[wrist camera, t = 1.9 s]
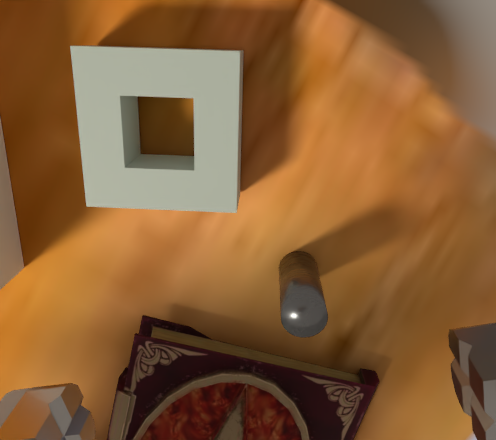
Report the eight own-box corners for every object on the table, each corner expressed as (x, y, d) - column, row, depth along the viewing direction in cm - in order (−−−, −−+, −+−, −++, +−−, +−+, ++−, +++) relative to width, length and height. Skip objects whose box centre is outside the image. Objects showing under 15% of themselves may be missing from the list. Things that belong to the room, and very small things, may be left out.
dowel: (315, 286, 37) (325, 338, 30) (278, 284, 37) (279, 336, 31) (318, 252, 36) (329, 298, 29) (279, 250, 36) (282, 296, 29)
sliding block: (240, 194, 34) (236, 212, 31) (106, 189, 35) (86, 206, 31) (243, 50, 31) (239, 51, 27) (94, 45, 31) (70, 45, 27)
